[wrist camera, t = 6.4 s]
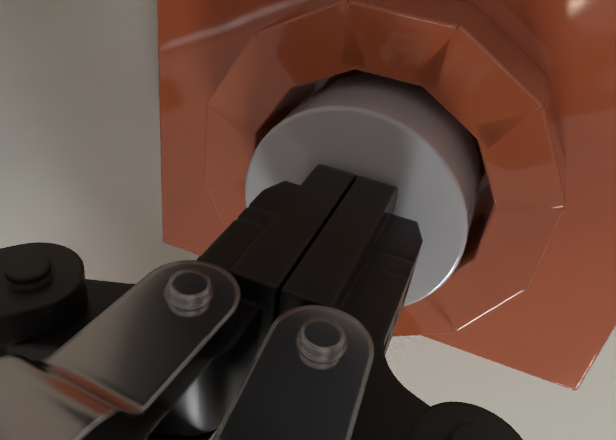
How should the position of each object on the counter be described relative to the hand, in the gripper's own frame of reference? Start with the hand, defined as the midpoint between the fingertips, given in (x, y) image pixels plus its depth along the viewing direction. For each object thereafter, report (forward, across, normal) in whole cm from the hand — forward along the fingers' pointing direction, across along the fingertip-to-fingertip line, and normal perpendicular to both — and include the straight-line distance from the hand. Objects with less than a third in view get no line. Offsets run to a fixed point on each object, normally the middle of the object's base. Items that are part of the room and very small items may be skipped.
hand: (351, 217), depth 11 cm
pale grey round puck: (+2, 0, 0) cm, 2 cm away
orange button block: (+6, 0, 0) cm, 6 cm away
